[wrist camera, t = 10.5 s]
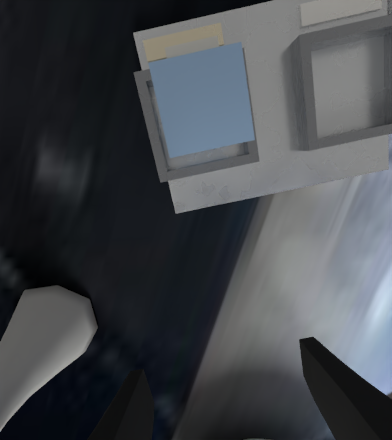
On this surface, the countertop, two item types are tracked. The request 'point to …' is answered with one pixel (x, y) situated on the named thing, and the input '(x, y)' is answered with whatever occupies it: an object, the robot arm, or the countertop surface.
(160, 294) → the countertop surface
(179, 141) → the plug
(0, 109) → the countertop surface
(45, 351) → the flask
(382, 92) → the panel
